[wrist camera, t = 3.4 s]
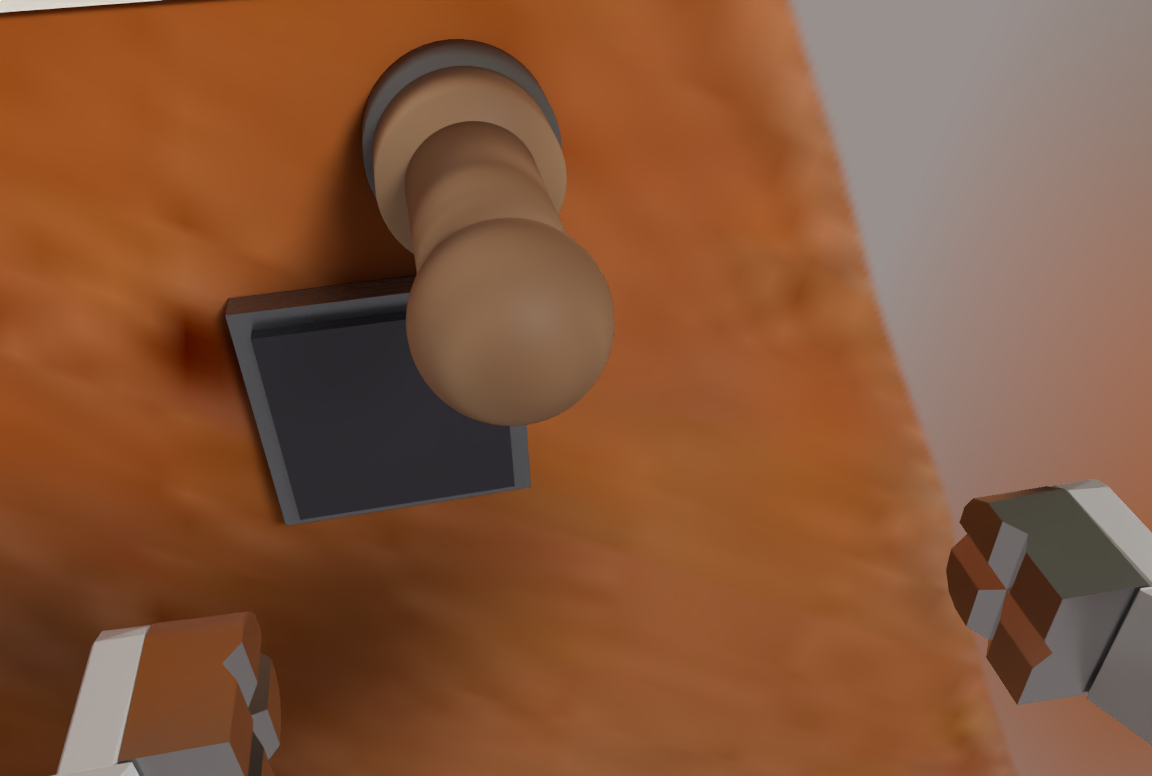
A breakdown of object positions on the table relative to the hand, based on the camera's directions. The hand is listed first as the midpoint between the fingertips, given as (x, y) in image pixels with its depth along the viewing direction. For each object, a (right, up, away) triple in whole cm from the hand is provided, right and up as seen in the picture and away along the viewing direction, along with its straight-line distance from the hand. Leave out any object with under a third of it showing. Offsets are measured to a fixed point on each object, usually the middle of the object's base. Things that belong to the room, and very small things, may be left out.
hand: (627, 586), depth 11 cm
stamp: (-3, +8, +11) cm, 14 cm away
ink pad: (-6, +2, +15) cm, 16 cm away
